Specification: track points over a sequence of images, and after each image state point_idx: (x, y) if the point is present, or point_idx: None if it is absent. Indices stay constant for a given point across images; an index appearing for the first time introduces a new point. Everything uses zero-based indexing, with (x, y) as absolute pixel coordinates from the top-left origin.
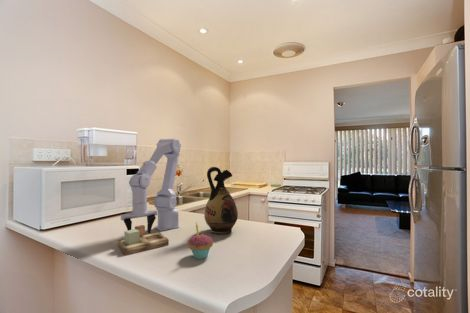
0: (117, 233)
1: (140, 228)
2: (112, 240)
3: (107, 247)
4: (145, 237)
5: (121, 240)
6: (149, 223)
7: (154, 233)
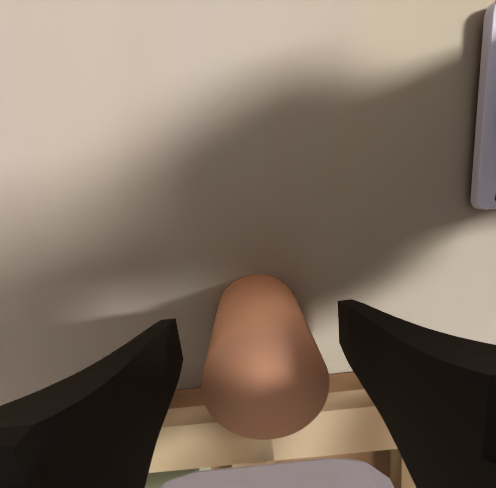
0: (62, 22)
1: (263, 431)
2: (41, 248)
3: (29, 389)
4: (285, 453)
5: None
6: (401, 438)
7: (376, 416)
